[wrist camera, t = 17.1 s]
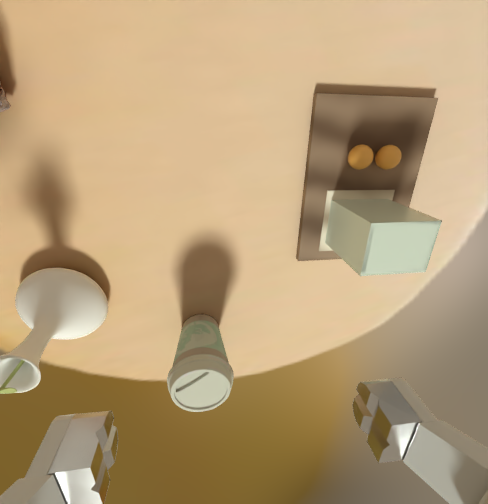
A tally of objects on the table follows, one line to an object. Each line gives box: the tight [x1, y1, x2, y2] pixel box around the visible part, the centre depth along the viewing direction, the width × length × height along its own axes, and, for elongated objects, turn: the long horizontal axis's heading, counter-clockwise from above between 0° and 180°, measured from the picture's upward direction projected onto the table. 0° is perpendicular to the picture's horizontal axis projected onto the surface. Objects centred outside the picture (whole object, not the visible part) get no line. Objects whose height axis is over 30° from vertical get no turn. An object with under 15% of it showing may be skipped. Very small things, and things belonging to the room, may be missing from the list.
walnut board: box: [296, 93, 438, 261], centre depth 39 cm, size 22×16×1 cm
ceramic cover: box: [325, 199, 442, 276], centre depth 37 cm, size 6×8×10 cm
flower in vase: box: [0, 268, 108, 394], centre depth 29 cm, size 13×11×25 cm
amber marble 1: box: [348, 145, 374, 170], centre depth 36 cm, size 3×3×3 cm
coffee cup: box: [167, 314, 233, 412], centre depth 41 cm, size 8×9×12 cm
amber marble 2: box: [375, 145, 401, 170], centre depth 36 cm, size 3×3×3 cm
